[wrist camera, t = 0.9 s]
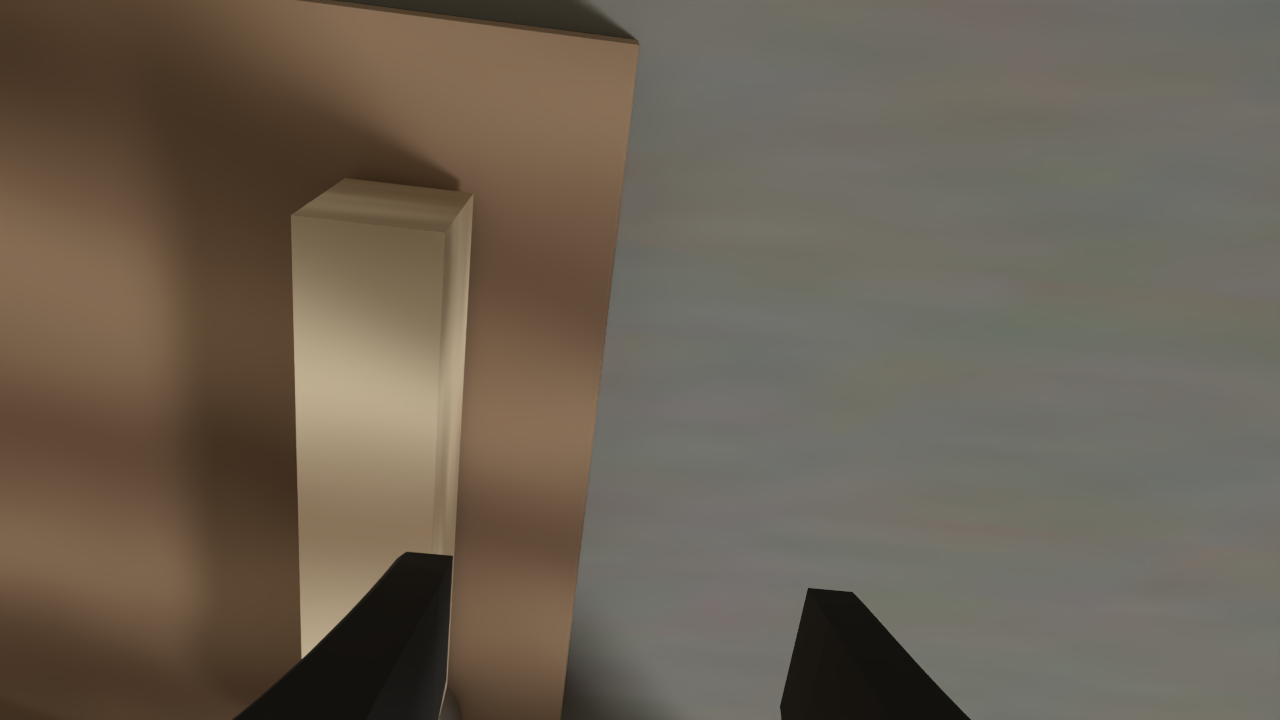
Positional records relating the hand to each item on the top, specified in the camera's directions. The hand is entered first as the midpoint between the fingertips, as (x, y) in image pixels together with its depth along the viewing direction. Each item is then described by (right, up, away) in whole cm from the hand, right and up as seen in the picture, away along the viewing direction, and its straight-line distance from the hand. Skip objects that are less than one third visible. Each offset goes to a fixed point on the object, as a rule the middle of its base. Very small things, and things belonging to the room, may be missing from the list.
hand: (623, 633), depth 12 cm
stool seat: (-11, +2, +9) cm, 14 cm away
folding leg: (-5, 0, +8) cm, 9 cm away
